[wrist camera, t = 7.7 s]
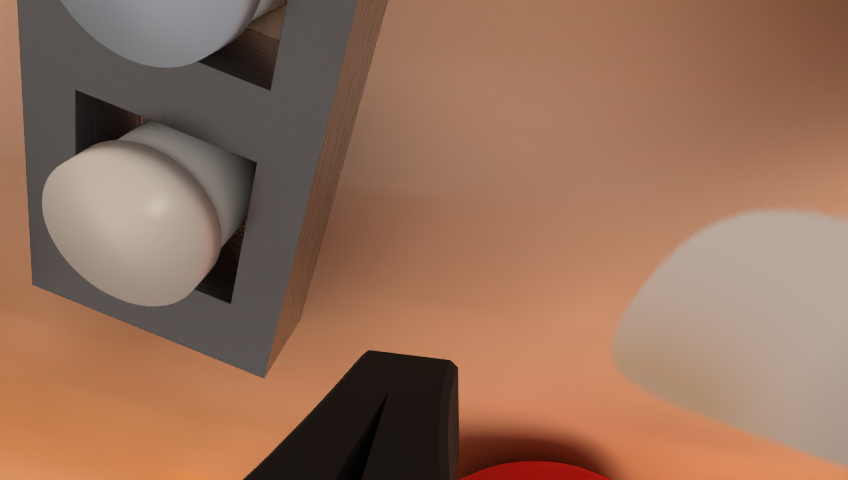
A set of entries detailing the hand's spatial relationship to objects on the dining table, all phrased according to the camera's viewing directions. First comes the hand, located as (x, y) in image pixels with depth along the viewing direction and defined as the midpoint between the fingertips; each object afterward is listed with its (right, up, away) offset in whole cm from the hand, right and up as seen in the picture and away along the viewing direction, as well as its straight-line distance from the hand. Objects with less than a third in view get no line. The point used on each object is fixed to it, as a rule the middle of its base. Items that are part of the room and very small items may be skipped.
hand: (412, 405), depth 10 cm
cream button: (-6, +5, +10) cm, 13 cm away
